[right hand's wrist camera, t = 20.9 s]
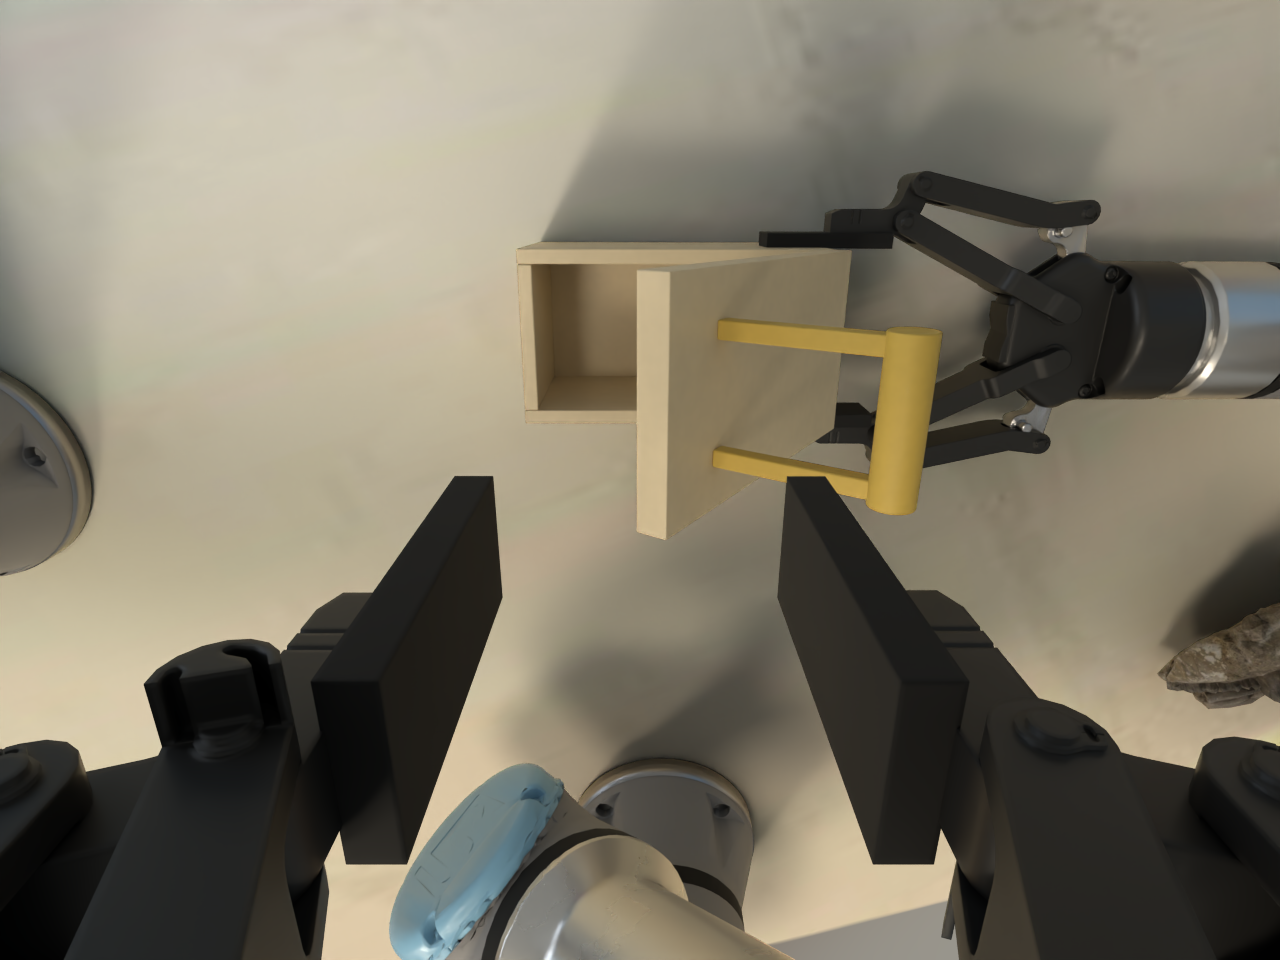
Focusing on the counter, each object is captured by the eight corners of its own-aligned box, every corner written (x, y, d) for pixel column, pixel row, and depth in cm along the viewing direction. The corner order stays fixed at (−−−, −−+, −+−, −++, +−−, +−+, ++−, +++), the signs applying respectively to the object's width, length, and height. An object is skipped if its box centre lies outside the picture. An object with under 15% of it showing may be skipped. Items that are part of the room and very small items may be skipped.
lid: (636, 532, 25) (876, 601, 21) (636, 269, 22) (919, 284, 18) (811, 425, 38) (983, 453, 34) (827, 249, 35) (1018, 255, 30)
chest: (545, 384, 47) (525, 423, 38) (539, 241, 44) (515, 248, 35) (784, 384, 47) (819, 423, 38) (795, 242, 44) (835, 249, 35)
